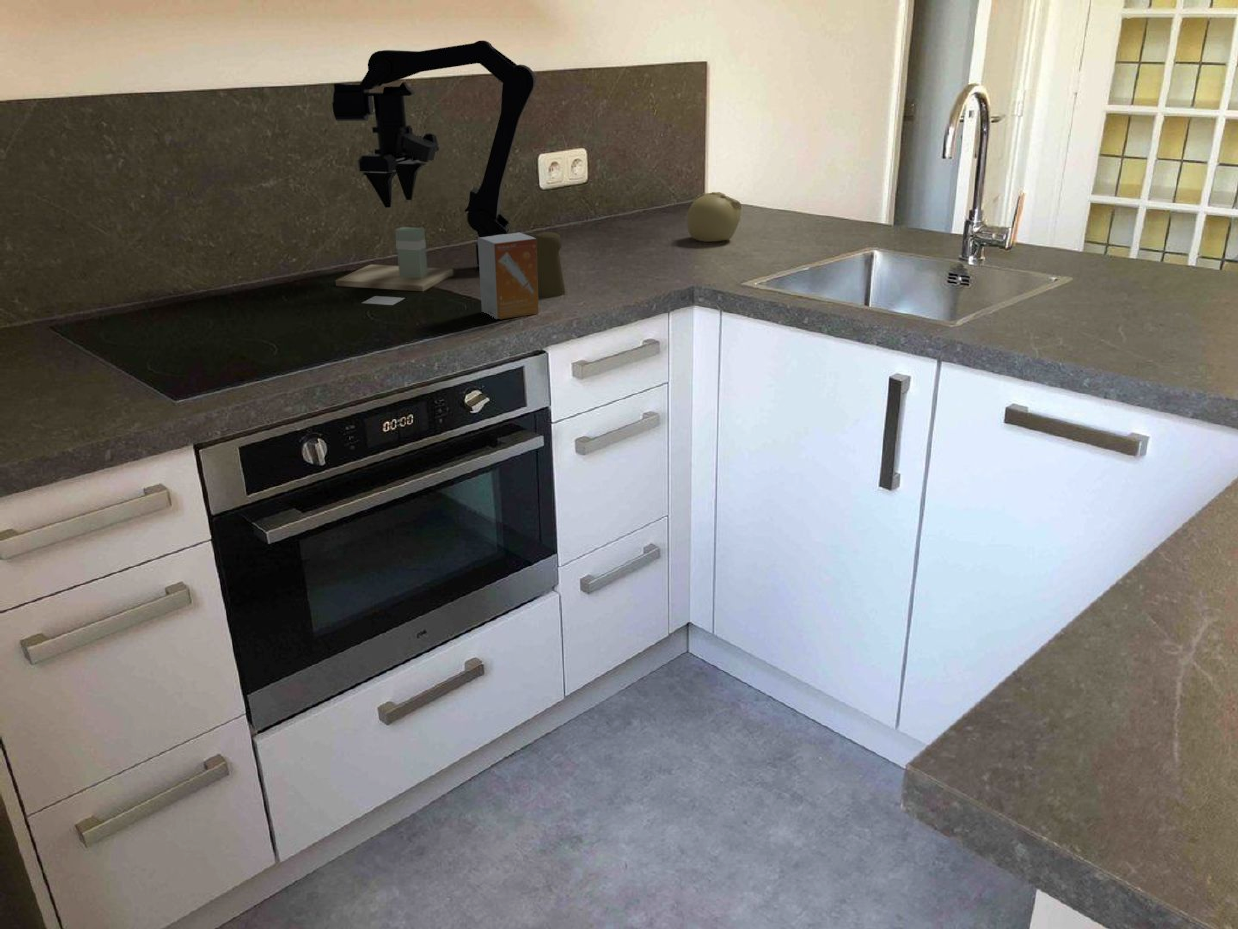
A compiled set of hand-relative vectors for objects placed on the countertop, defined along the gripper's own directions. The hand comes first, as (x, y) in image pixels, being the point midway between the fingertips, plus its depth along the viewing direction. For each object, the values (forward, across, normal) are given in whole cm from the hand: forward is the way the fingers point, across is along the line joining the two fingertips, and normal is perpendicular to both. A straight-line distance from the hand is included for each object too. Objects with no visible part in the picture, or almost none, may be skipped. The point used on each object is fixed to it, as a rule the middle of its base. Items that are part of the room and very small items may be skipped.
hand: (398, 203), depth 197 cm
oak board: (+13, -10, -3) cm, 17 cm away
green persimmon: (+13, +43, -56) cm, 72 cm away
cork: (+13, -12, -35) cm, 39 cm away
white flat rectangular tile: (+13, -25, -8) cm, 29 cm away
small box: (+13, -27, -33) cm, 45 cm away
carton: (+12, -10, -7) cm, 17 cm away
